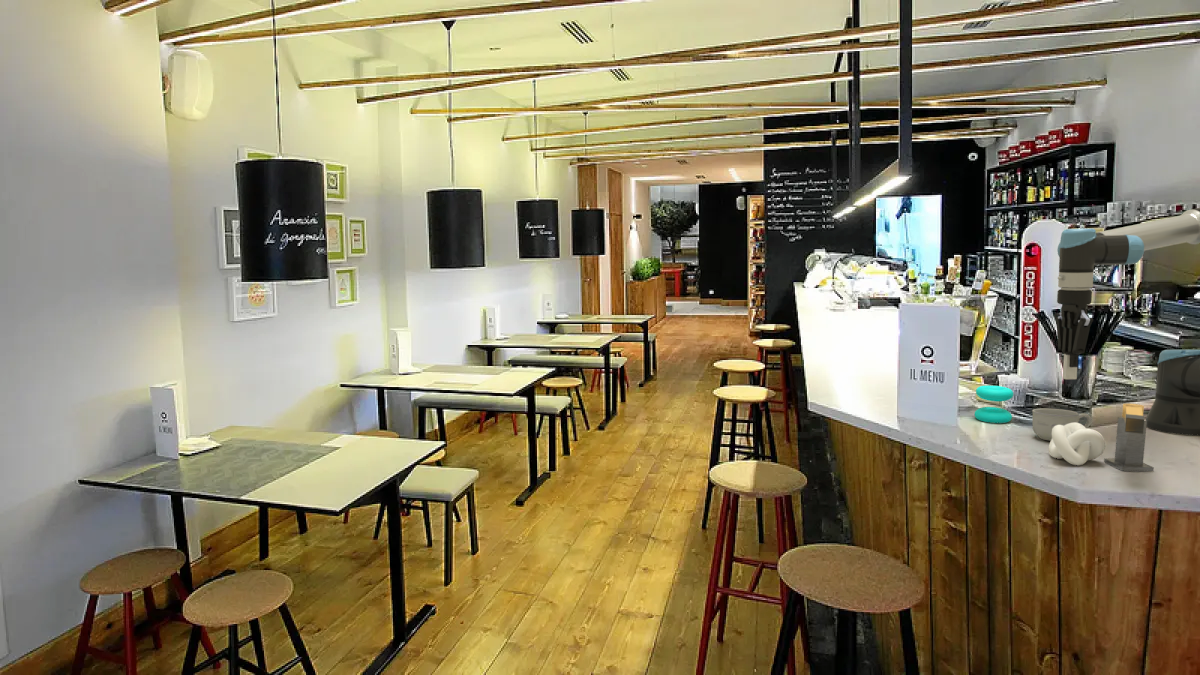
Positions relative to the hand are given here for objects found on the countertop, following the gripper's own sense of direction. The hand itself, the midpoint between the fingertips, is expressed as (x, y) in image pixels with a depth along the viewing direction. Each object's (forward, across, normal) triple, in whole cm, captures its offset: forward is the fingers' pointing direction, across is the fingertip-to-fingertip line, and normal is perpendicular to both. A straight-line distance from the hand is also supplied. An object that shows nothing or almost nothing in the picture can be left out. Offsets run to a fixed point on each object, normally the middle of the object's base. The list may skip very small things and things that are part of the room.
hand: (1069, 378), depth 192 cm
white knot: (+18, +15, -7) cm, 25 cm away
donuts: (+18, -27, -6) cm, 33 cm away
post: (+18, +19, +4) cm, 27 cm away
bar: (+6, +25, 0) cm, 26 cm away
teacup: (+18, -5, +1) cm, 19 cm away
